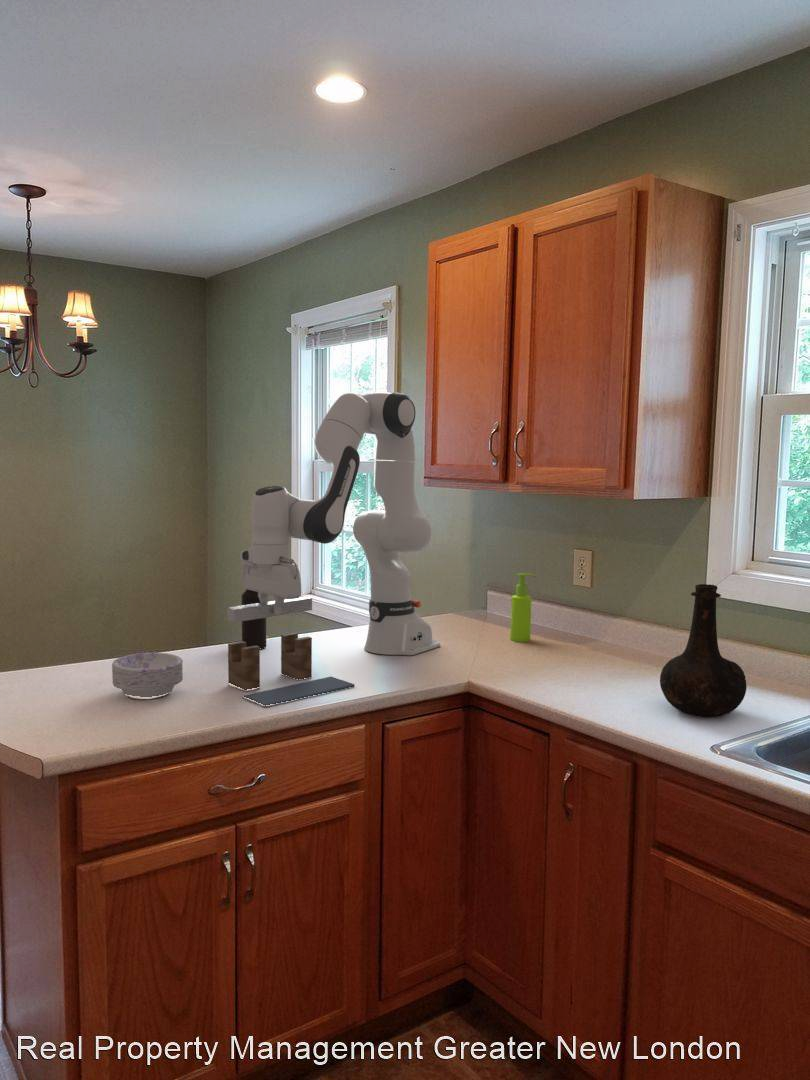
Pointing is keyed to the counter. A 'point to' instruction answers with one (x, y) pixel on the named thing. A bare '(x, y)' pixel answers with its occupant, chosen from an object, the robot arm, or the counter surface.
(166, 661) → the paper bowls
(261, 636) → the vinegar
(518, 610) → the soap dispenser
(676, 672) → the glass bottle
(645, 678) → the counter surface
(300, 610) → the rail
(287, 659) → the cradles
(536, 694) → the counter surface
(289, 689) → the mat
